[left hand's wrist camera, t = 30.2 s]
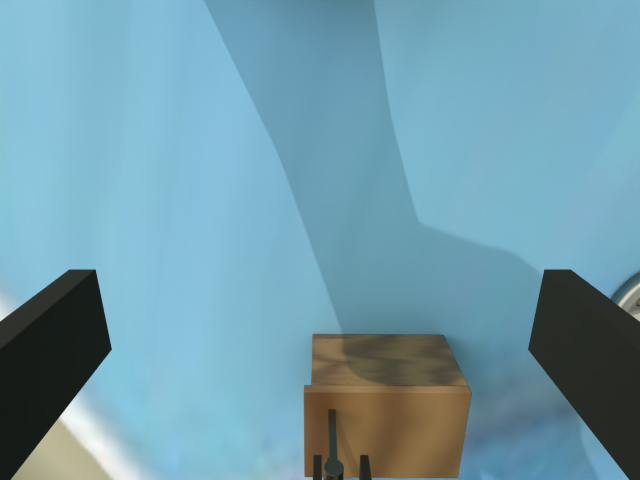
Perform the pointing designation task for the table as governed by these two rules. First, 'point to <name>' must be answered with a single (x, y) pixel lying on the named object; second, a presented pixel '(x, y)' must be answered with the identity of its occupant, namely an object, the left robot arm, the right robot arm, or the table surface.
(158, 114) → the table surface
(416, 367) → the chest
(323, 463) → the lid
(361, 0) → the table surface
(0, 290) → the table surface
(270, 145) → the table surface
